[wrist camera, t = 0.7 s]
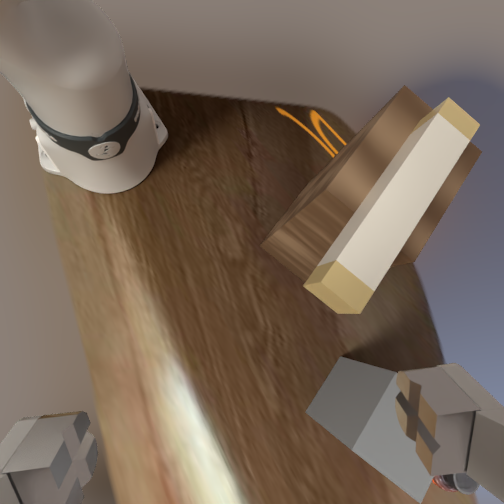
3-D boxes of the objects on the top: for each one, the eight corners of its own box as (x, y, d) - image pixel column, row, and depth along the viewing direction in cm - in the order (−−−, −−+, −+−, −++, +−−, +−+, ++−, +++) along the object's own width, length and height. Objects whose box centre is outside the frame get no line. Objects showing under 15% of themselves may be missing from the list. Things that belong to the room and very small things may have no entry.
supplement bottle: (419, 417, 55) (478, 443, 44) (432, 454, 54) (495, 491, 43) (388, 432, 53) (441, 463, 42) (401, 470, 53) (458, 512, 42)
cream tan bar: (337, 313, 27) (360, 313, 24) (303, 285, 27) (320, 282, 24) (448, 144, 33) (480, 124, 29) (419, 120, 32) (448, 97, 29)
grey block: (355, 451, 52) (420, 503, 38) (305, 412, 51) (351, 450, 37) (388, 394, 54) (460, 423, 40) (340, 356, 54) (396, 372, 40)
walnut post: (307, 284, 55) (414, 261, 30) (259, 245, 54) (326, 189, 29) (352, 220, 58) (482, 151, 33) (307, 183, 58) (404, 85, 33)
